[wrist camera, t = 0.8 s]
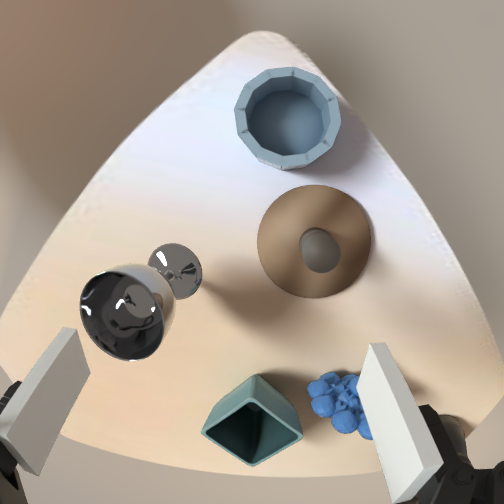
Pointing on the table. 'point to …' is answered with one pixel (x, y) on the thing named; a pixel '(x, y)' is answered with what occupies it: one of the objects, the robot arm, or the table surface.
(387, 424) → the robot arm
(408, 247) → the table surface
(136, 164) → the table surface
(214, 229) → the table surface
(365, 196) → the table surface
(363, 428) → the grapes
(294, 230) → the lid
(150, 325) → the wine glass
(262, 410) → the flower pot
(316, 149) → the bowl
